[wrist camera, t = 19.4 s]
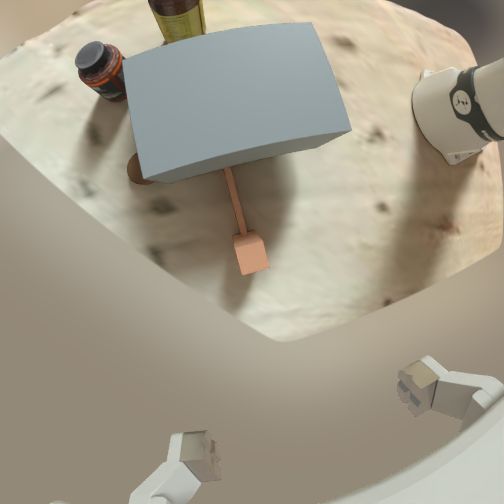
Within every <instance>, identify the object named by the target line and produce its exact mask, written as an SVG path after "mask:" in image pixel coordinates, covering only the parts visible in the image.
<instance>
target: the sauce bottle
mask: <svg viewBox="0 0 504 504" xmlns="http://www.w3.org/2000/svg"><path fill="white" fill-rule="evenodd" d="M148 3H149V5H150V7H151V10H152V12H153V14H154V16H155V19H156V21H157V23H158V25H159V28H160V30H161V32H162V34H163V36H164V39H165V40H166V42H167V43H168V44H170V43H173V42H177V41H180V40H184V39H188V38H192V37H196V36H200V35H205V31H206V25H205V18H204V11H203V3H202V0H148Z"/></svg>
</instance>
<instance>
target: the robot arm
mask: <svg viewBox="0 0 504 504" xmlns="http://www.w3.org/2000/svg"><path fill="white" fill-rule="evenodd" d="M412 103H413V110H414V114H415V117H416V120H417V123H418V125H419V127H420V129H421V131H422V133H423V134H424V136H425V137H426V139H427V140H428V141H429V142H430V143H431V145H432V146H434V147H435V148H436V149H437V150H439V151H440V152H441V153H442V154H443V156H444V158H445V159H446V161H447V162H448V163H449V164H450V165H455V164H457V163H459V162H461V161H463V160H465V159H467V158H469V157H470V156H472V155H474V154H476V153H478V152H480V151H481V150H483V149H485V148H486V145H487V144H489V143H490V142H492V141H494V142H497V141H501V140H504V58H502V59H500V60H498V61H496V62H493V63H491V64H489V65H486V66H484V67H479V66H476V67H470V68H467V69H466V70H464V71H462V72H461V71H460V70H458V69H455V68H454V67H450V68H447V69H444V70H441V71H439V72H433V71H430V70H428V69H425V70H422V72H421V78H420V81H419V83H418V84H417V85H416V87H415V88H414V91H413V97H412ZM398 378H399V379H400V381H399V383H398V384H397V391H398V395H399V397H400V399H401V400H402V401H403V402H404V403H408V404H409V405H408V409H409V410H410V411H411V412H412V414H413V415H414V416H415V417H417V416H419V415H420V414H422V413H424V412H426V411H427V410H429V409H432V410H434V411H437V412H440V413H443V414H446V415H449V416H452V417H455V418H458V419H461V420H463V422H462V424H461V426H460V429H459V432H460V433H459V434H458V435H456V436H455V437H454V438H452V439H451V440H449V441H448V442H447V443H445V444H444V445H442V446H441V447H439V448H438V449H436V450H434V451H433V452H432V453H430V454H428V455H426V456H425V457H423V458H421V459H420V460H418V461H416V462H415V463H413V464H411V465H409V466H407V467H405V468H404V469H402V470H400V471H398V472H396V473H394V474H392V475H390V476H388V477H386V478H384V479H382V480H380V481H377V482H375V483H373V484H370V485H368V486H366V487H363V488H361V489H358V490H356V491H353V492H351V493H348V494H345V495H342V496H339V497H336V498H334V499H331V500H328V501H324V502H321V503H317V504H504V385H503V384H502V383H501V382H499V381H498V380H497V379H495V378H494V377H491V376H483V375H475V374H468V373H461V372H455V371H451V372H448V371H447V370H446V369H445V368H443V367H442V366H441V365H440V364H439V363H437V362H436V361H435V360H434V359H433V358H431V357H430V356H428V355H427V356H425V357H423V358H421V359H420V360H418V361H416V362H414V363H412V364H410V365H408V366H406V367H404V368H402V369H401V370H399V372H398ZM219 461H220V452H219V448H218V446H217V444H216V442H215V441H214V440H212V439H211V434H210V432H209V431H208V430H204V431H195V432H185V433H173V434H172V436H171V440H170V445H169V452H168V457H167V462H163V463H162V464H161V465H160V466H159V467H158V468H157V469H156V470H155V471H154V472H153V473H152V474H151V475H150V476H149V477H148V478H147V479H146V480H145V481H144V482H143V483H142V484H141V485H140V486H139V487H138V488H137V489H136V490H135V491H133V492H132V493H131V496H130V500H129V504H188V502H189V501H190V499H191V498H192V496H193V495H194V493H195V492H196V491H197V489H198V488H199V486H200V484H201V482H210V481H218V480H221V470H220V467H219V465H218V462H219ZM50 504H71V503H68V502H65V501H60V500H57V501H54V502H51V503H50Z"/></svg>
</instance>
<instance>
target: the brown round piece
mask: <svg viewBox="0 0 504 504" xmlns="http://www.w3.org/2000/svg"><path fill="white" fill-rule="evenodd" d="M127 173H128V176H129V178H130V179H131V180H132V181H133V182H135V183H137V184H143V185H148V184H151V183H153V182H154V181H151V180H147V179H143V175H142V170H141V166H140V162H139V157H138V153H136V154H135V155H133V156H132V158H131V159H130V160H129V162H128V166H127Z"/></svg>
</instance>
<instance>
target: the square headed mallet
mask: <svg viewBox="0 0 504 504" xmlns="http://www.w3.org/2000/svg"><path fill="white" fill-rule="evenodd" d="M224 172H225V176H226V179H227V183H228V187H229V191H230V195H231V199H232V202H233V206H234V210H235V214H236V218H237V221H238V225H239V229H240V233H241V234H238V235H234V236H233V240H234V247H235V251H236V255H237V259H238V262H239V266H240V270H241V273H242V275H246V274H249V273H253V272H257V271H260V270H264V269H268V268H270V267H269V263H268V259H267V255H266V251H265V247H264V243H263V240H262V239H261V238H260V236H259V235H258V234H257V233H256V232H255V230H253V231H249V232H247V229H246V225H245V221H244V218H243V214H242V210H241V206H240V202H239V198H238V195H237V191H236V187H235V183H234V179H233V175H232V172H231V168H230V167H226V168H224Z"/></svg>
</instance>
